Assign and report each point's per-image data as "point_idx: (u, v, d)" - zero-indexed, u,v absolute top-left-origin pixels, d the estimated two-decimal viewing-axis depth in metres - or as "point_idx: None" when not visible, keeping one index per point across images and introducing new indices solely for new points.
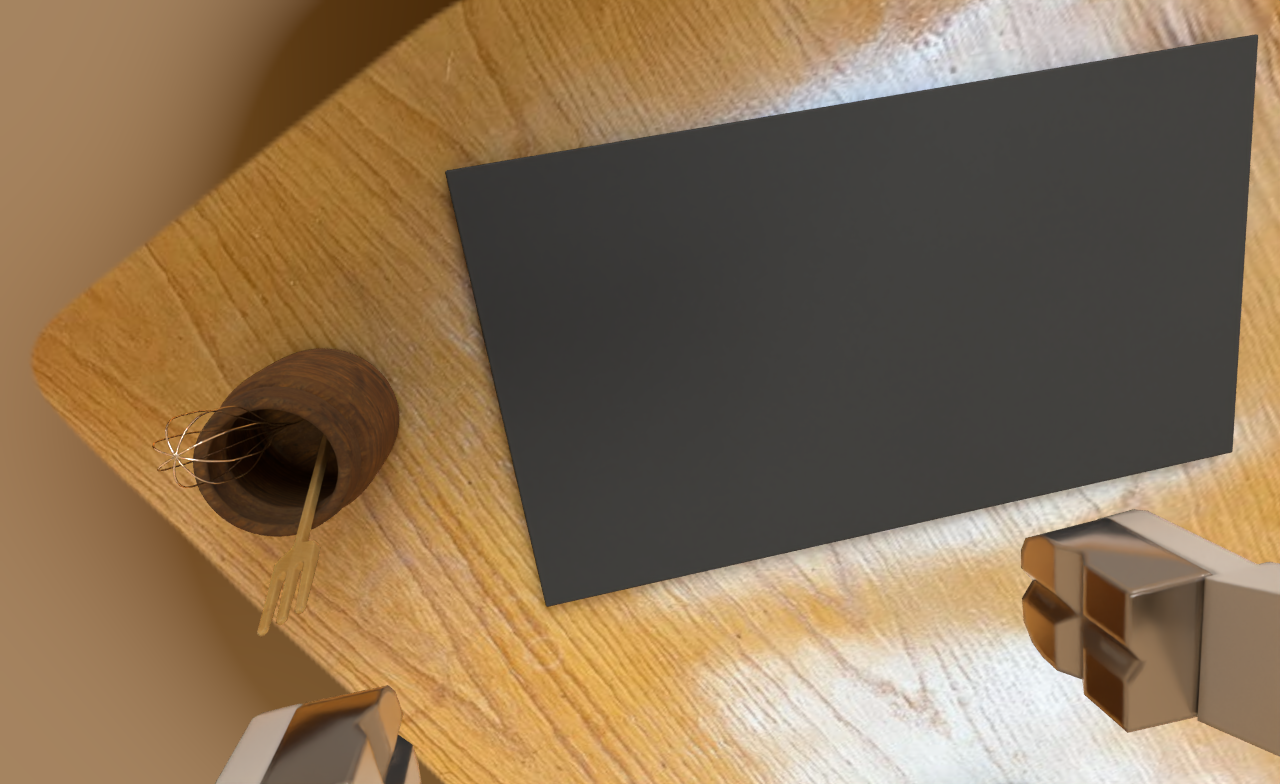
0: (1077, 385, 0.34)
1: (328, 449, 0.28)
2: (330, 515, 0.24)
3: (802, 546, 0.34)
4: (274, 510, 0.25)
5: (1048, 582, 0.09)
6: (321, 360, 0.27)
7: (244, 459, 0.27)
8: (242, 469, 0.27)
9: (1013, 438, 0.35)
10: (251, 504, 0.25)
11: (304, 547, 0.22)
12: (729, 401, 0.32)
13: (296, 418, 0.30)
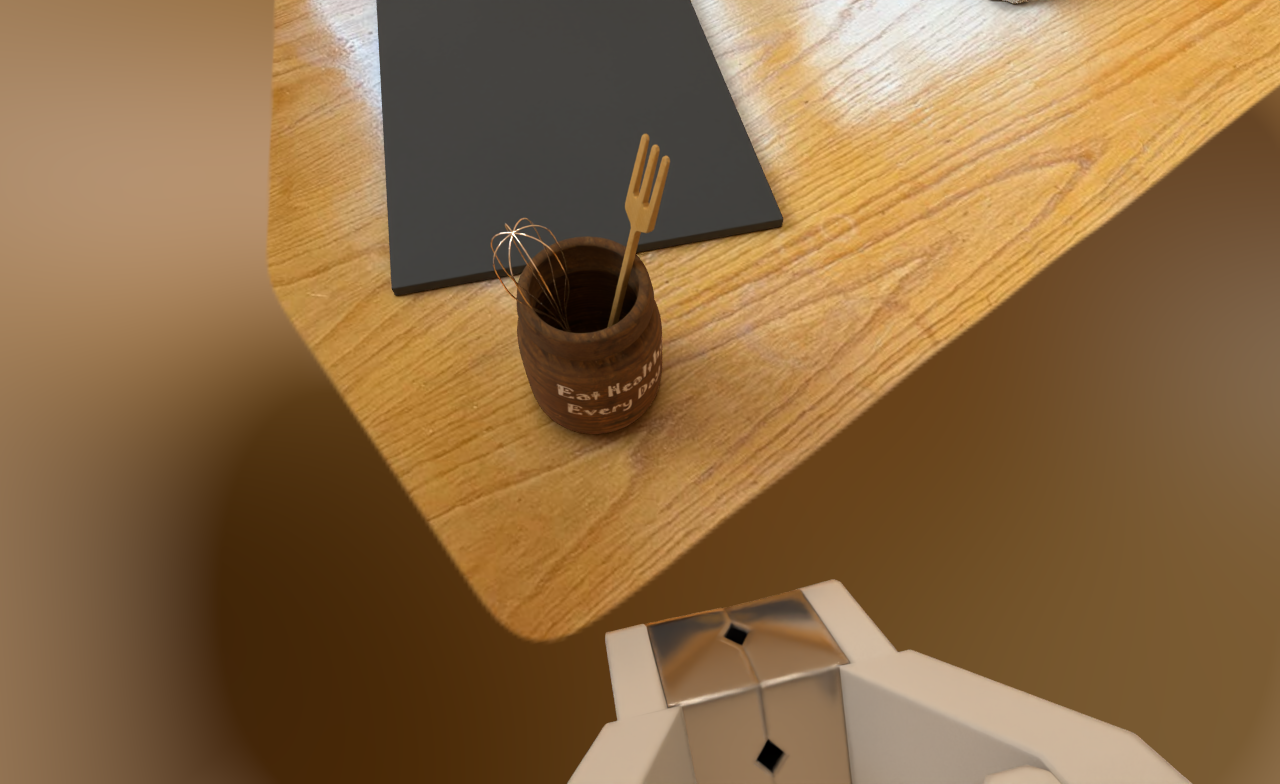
0: None
1: None
2: None
3: (715, 65, 0.42)
4: None
5: None
6: None
7: None
8: None
9: None
10: None
11: (630, 211, 0.25)
12: (592, 114, 0.40)
13: None
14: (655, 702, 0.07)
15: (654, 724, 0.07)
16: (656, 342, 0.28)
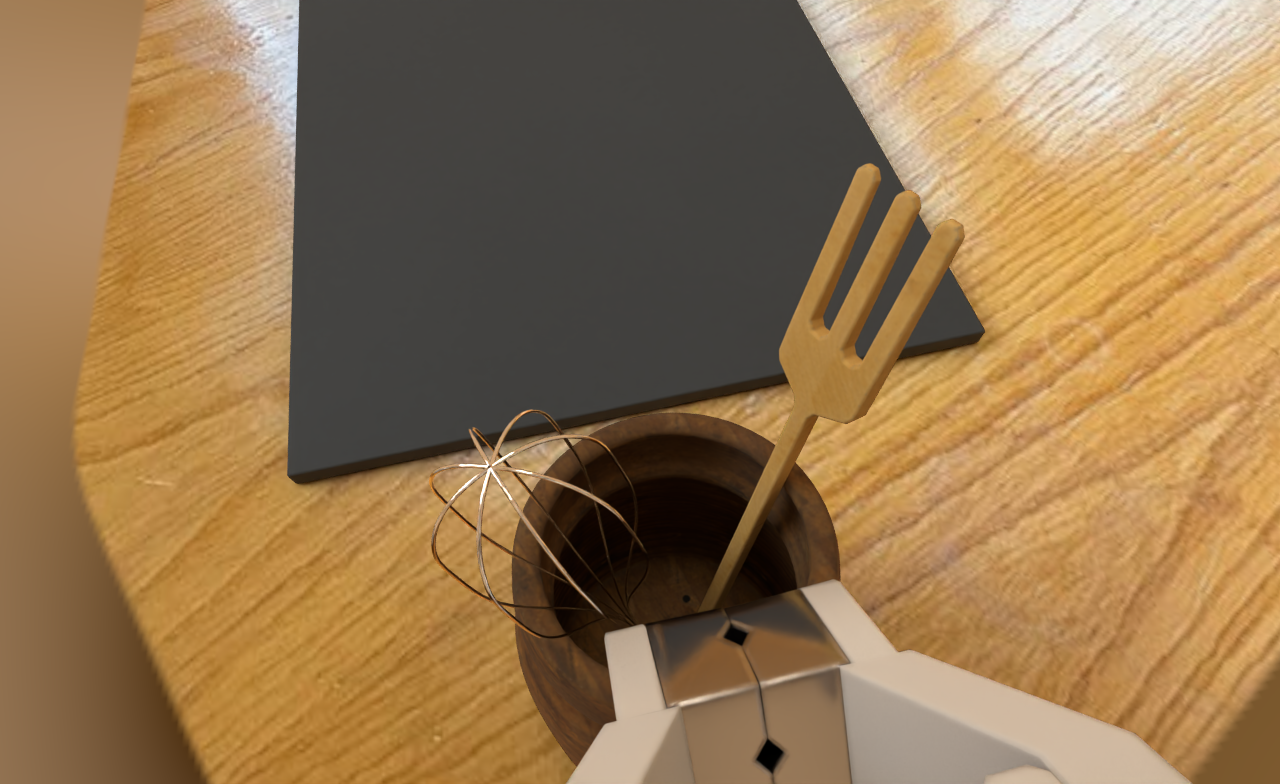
0: None
1: None
2: (771, 444, 0.12)
3: (828, 63, 0.27)
4: None
5: None
6: None
7: None
8: None
9: None
10: None
11: (795, 367, 0.10)
12: (637, 144, 0.25)
13: None
14: (654, 702, 0.07)
15: (653, 724, 0.07)
16: None
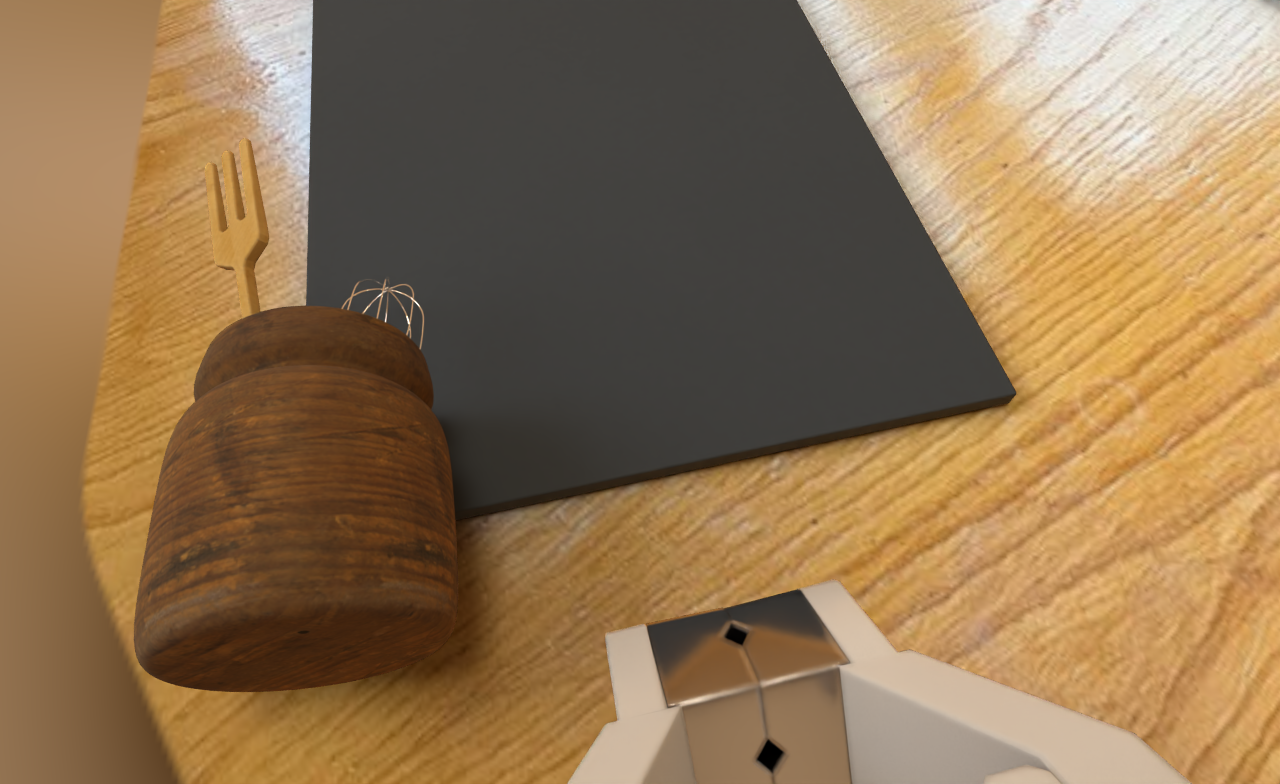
0: None
1: None
2: (253, 314, 0.15)
3: (851, 105, 0.26)
4: None
5: None
6: None
7: None
8: None
9: None
10: None
11: None
12: (656, 191, 0.24)
13: None
14: (655, 702, 0.07)
15: (654, 724, 0.07)
16: None
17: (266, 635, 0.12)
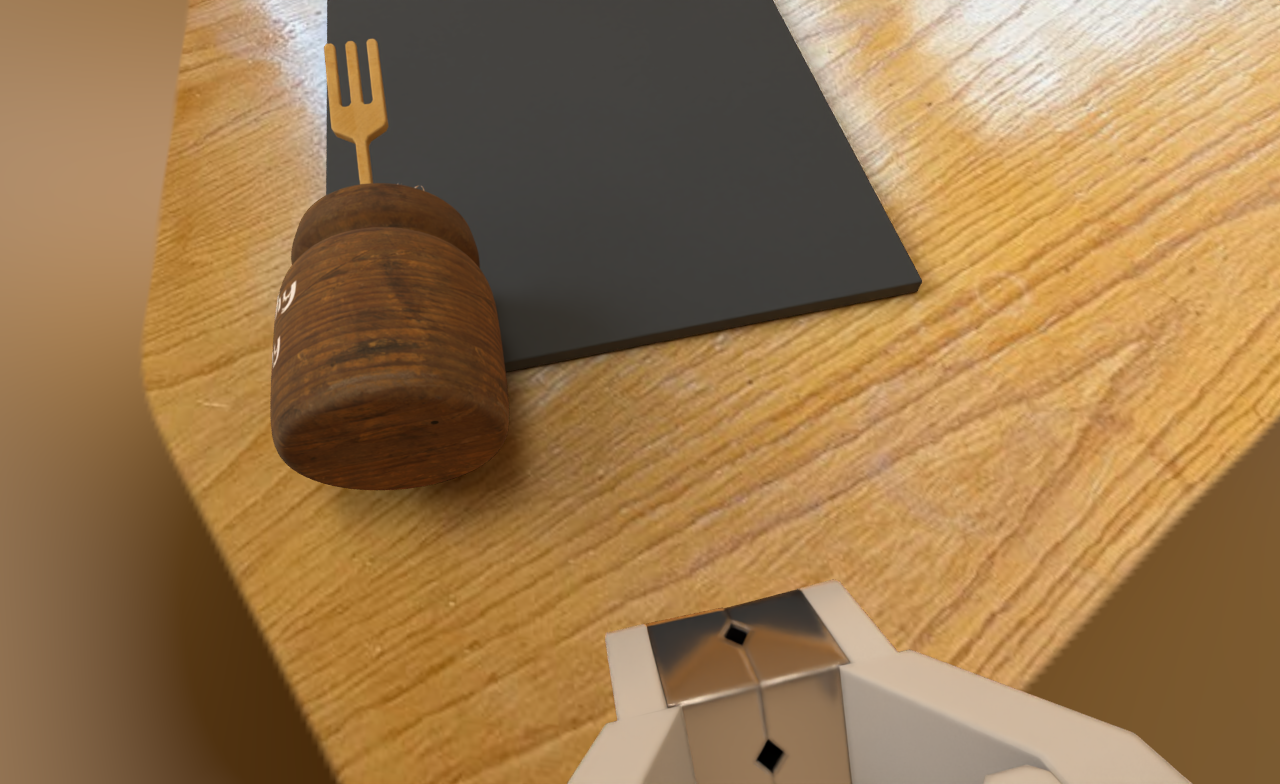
0: None
1: None
2: (383, 183, 0.19)
3: (797, 53, 0.30)
4: None
5: None
6: None
7: None
8: None
9: None
10: None
11: None
12: (626, 124, 0.28)
13: None
14: (655, 702, 0.07)
15: (654, 724, 0.07)
16: (283, 280, 0.18)
17: (413, 417, 0.17)
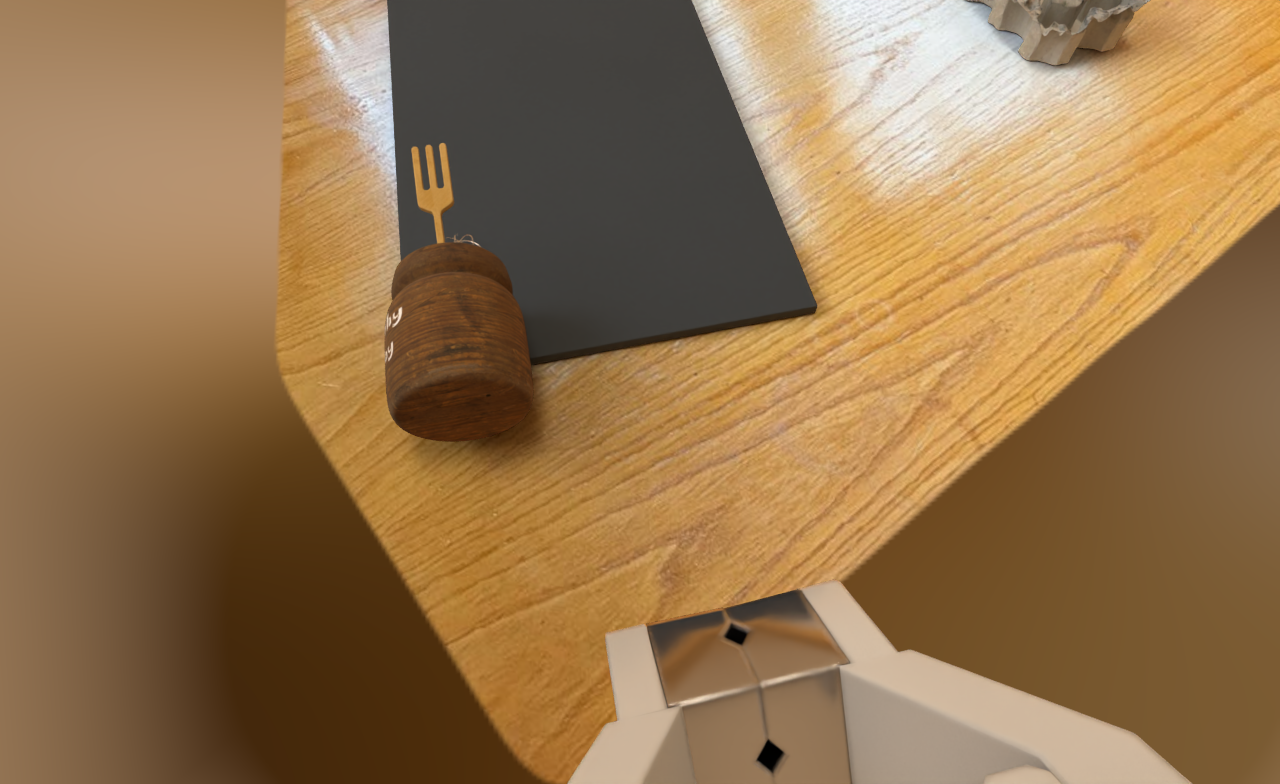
0: None
1: None
2: (452, 242, 0.30)
3: (743, 132, 0.41)
4: None
5: None
6: None
7: None
8: None
9: (647, 24, 0.46)
10: None
11: None
12: (615, 186, 0.39)
13: None
14: (655, 702, 0.07)
15: (654, 724, 0.07)
16: (391, 305, 0.29)
17: (476, 392, 0.27)
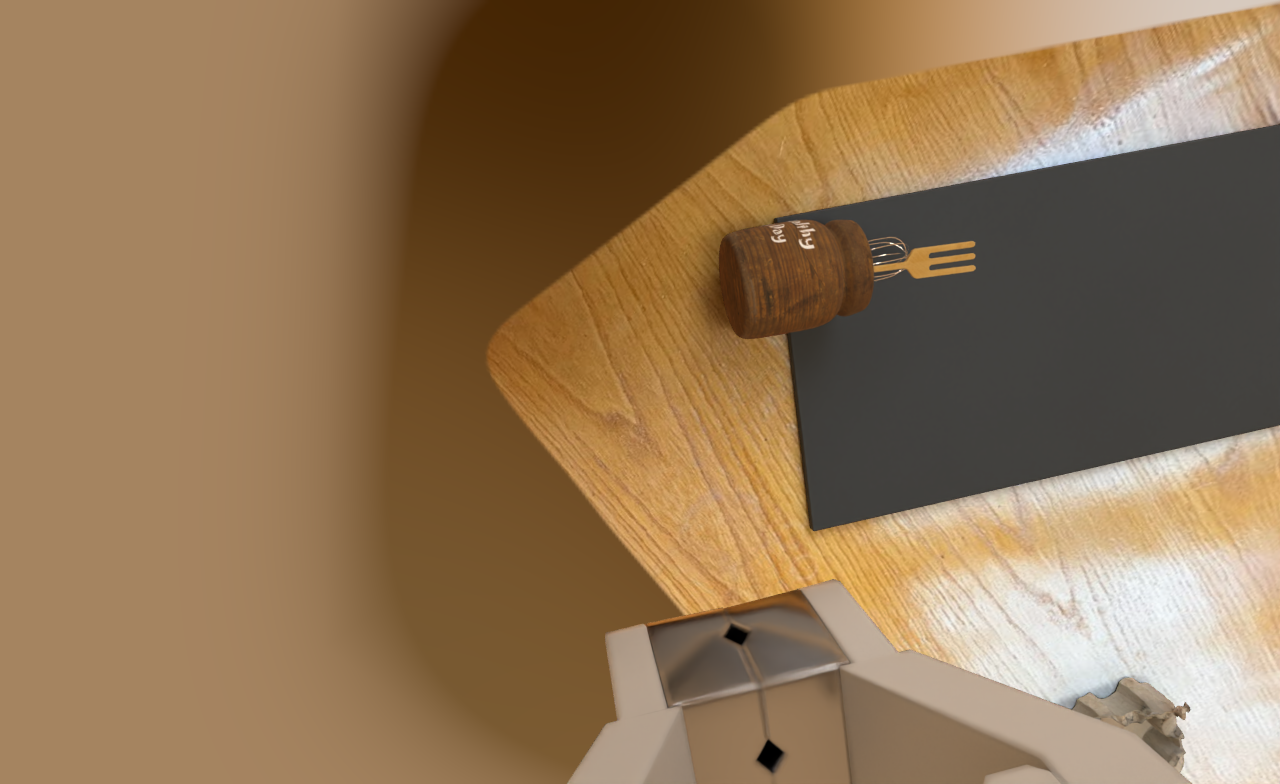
0: (1198, 368, 0.47)
1: None
2: (873, 281, 0.37)
3: (995, 487, 0.47)
4: None
5: None
6: None
7: None
8: None
9: (1150, 407, 0.47)
10: None
11: None
12: (952, 380, 0.44)
13: None
14: (655, 702, 0.07)
15: (654, 724, 0.07)
16: (821, 233, 0.36)
17: (739, 307, 0.37)
